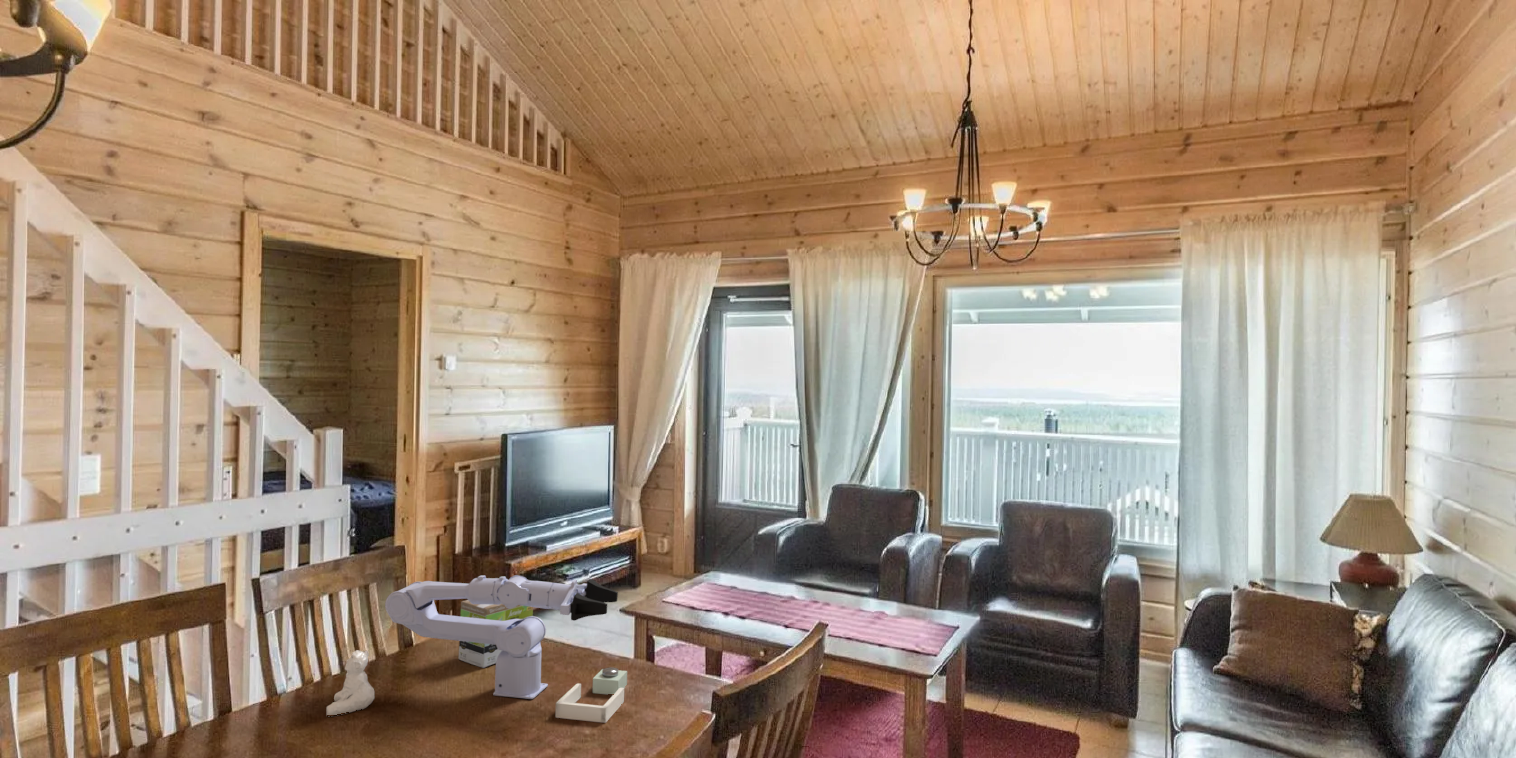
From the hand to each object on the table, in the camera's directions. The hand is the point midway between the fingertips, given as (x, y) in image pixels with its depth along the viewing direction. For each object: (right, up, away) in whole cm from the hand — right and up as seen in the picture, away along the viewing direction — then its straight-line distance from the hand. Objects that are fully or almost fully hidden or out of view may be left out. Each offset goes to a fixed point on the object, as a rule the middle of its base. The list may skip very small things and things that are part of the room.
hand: (612, 602), depth 180 cm
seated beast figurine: (-54, -20, -8) cm, 58 cm away
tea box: (-33, -20, +24) cm, 46 cm away
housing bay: (-3, -21, -6) cm, 22 cm away
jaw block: (-1, -21, +5) cm, 22 cm away
